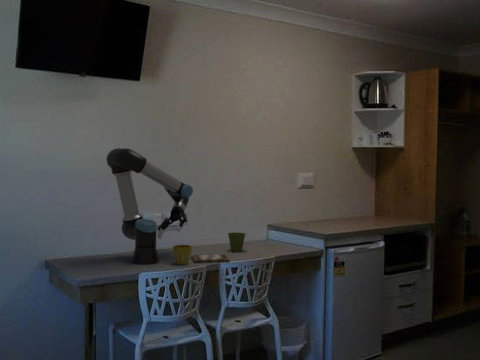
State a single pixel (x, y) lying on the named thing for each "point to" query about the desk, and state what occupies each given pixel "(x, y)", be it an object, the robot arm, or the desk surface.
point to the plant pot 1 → (182, 253)
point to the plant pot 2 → (236, 241)
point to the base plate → (209, 258)
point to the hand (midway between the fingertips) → (168, 233)
